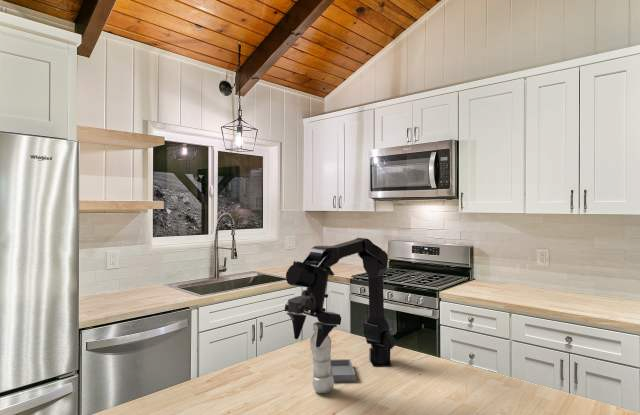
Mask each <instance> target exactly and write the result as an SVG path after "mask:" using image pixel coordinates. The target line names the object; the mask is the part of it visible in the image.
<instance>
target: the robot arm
mask: <svg viewBox="0 0 640 415" xmlns="http://www.w3.org/2000/svg"><path fill="white" fill-rule="evenodd" d="M355 254H356V255H357V256H358V257H359V258H360V259H361V260H362V265H363V269H364V271H365V272H366V274H367V277H368V278H367V281H368V285H367V286H368V311H369V313H368V318H367V320H366V321H365V322H363V324H362V326H363V333H362V334H363V335H364V339H365V340H366V343H367V344H369V345H370V348H369V349H368V350H369V351H368V358H369V359H368V360H369V362H370V363H371V365H372V366H373V367H392V366H393V364H392V362H391V350H392V349H393V348H394V347H395V345H396V339H395V338H394V337H393V335H392V334H391V331H390V326H389V323H388V322H387V319H386V318H385V314H384V313H385V312H384V311H385V308H384V303H385V302H384V300H385V299H384V278H383V277H384V274H385V272H386V271H387V269H388V263H389V255H388V253H387V252H386V251H385V250H383V248H381V247H380V246H378V245H377V244H375V243H373V242H372V240H371V239H369V238H363V237H356V238H355V239H352V240H349V241H345V242H342V243H338V244H335V245H315V246H313V247H311V250H310V251H309V253H308V254H307V255H306V257H305V258H304V259H303V260H302V261H297V260H294V261H293V263H292V265H290V267H289V266H288V267H289V268H288V269H287V271H286V273H285V279H286V283H287V284H288V285H290V286H296V287H302V288H306V290H305V289H303V291H302V292H301V295H298V296H295V297H292V298H289V299H287V303H286V302H285V303H286V304H285V305H284V309H283V310H284V312H286V315H287V316H289V318H290V319H291V322H292V328H293V329H292V330H293V337H294V339H295V340H299V338H300V335H301V333H302V330H303V327H304V325H305V322H306V318H307V316H309V317H312V318H313V317H314V318H316V319H317V320H318V321H316V322H315V323H316V324H317V326H318V333H317V339H316V347H320V346H321V344H322V343H323V341H324V340H325V338H326V337H327V335H329V334H330V333H331V331H332V330H333V329H334V328H337V327H338V325H339V326H340V325H341V324H342V316H341V314H340V313H336V312H334V311H333V312H332V311H326V310H327V308H324V303H325V299H328V298H329V294H328V293H327V287H328V283H329V282H328V281H329V278H330V276H332V277H333V276H335V273H334V271H333V270H332V269H331V267H333V266H334V265H335V264H337V263H339V261H340V260H341V259H343V258H345V257H346V258H347V257H349V256H353V255H355Z"/></svg>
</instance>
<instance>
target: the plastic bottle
mask: <svg viewBox="0 0 640 415" xmlns="http://www.w3.org/2000/svg"><path fill="white" fill-rule="evenodd" d="M312 327H313V329H312V330H313V334H312V335H311V337H310V340H309V346H310V350H311V356H312V365H313V366H312V367H313V368H312V369H313V370H312V371H313V372H312V388H313V390H314V391H315V392H316V393H318V394H326V393H330V392H332V391H333V389H334V385H335V382H334V378H333V374H332V369H331V360H332V358H331V356H332V355H331V354H332V353H331V352H332V340H331V337H330V335H329V334H328V335H327V337H326V338H325V340H324V341H323V343H322V344H321V346H320V347H316V339H317V333H318V326H317V324H316V322H313V326H312Z"/></svg>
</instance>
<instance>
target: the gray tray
mask: <svg viewBox="0 0 640 415" xmlns="http://www.w3.org/2000/svg"><path fill="white" fill-rule="evenodd" d="M331 369H332V374H333V378H334V383H356V379H357V377H356V375H357V374H356V372H355V370H354V369H355V368H354V366H353V363H352V361H351V359H349V358H347V359H344V358H343V359H331Z"/></svg>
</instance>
